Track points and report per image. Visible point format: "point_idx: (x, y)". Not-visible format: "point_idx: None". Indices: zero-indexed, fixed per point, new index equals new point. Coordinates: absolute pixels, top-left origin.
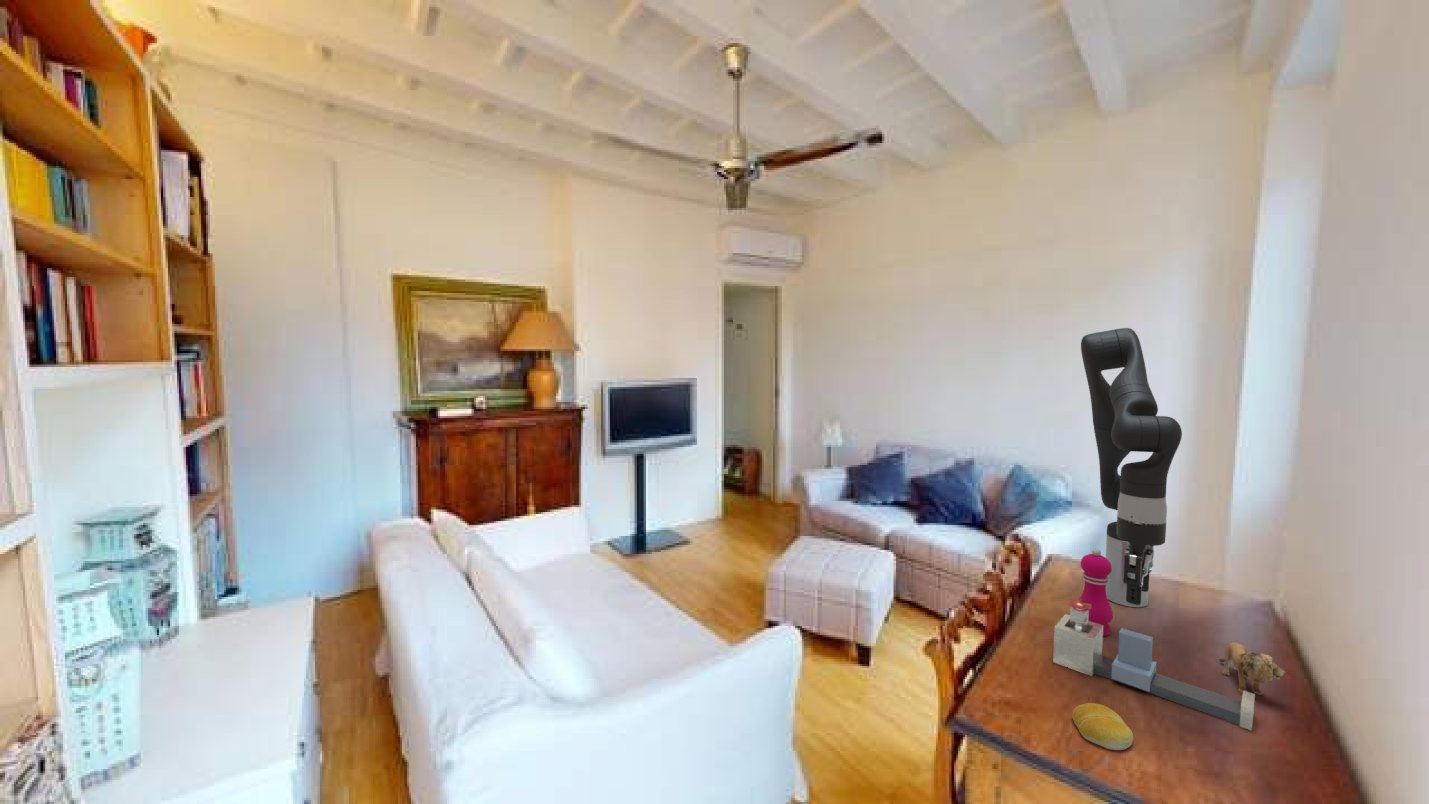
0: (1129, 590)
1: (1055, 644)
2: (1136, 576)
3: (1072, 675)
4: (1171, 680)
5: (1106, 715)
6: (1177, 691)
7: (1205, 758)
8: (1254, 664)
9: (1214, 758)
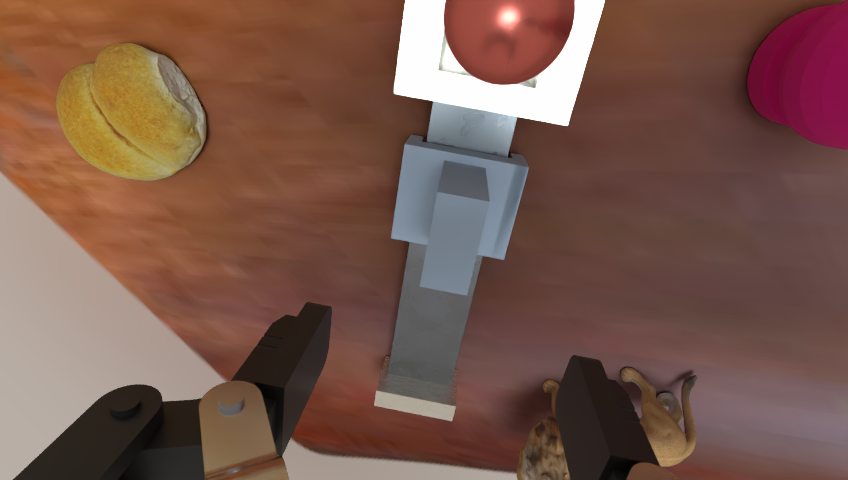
0: (243, 367)
1: None
2: (598, 428)
3: (382, 23)
4: None
5: (118, 130)
6: (410, 281)
7: (220, 289)
8: (530, 468)
9: (232, 302)
